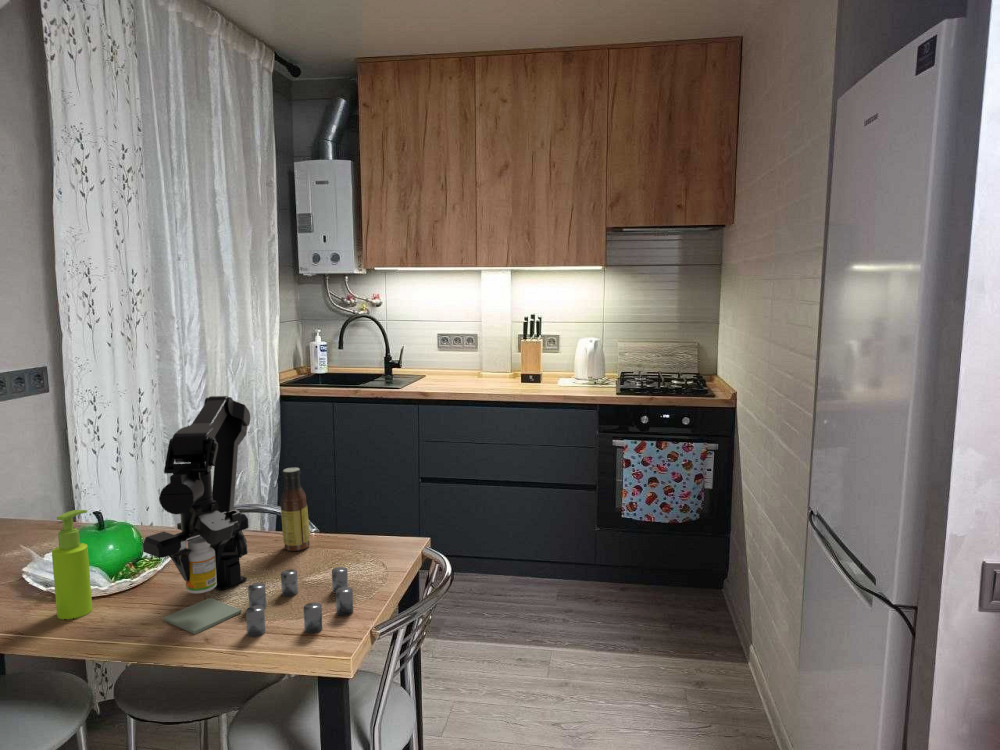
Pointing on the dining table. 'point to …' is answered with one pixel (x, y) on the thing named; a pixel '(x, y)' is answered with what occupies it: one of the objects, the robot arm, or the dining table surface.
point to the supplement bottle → (201, 566)
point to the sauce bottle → (294, 512)
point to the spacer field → (311, 610)
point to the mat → (202, 615)
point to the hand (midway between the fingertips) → (200, 575)
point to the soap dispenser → (71, 571)
